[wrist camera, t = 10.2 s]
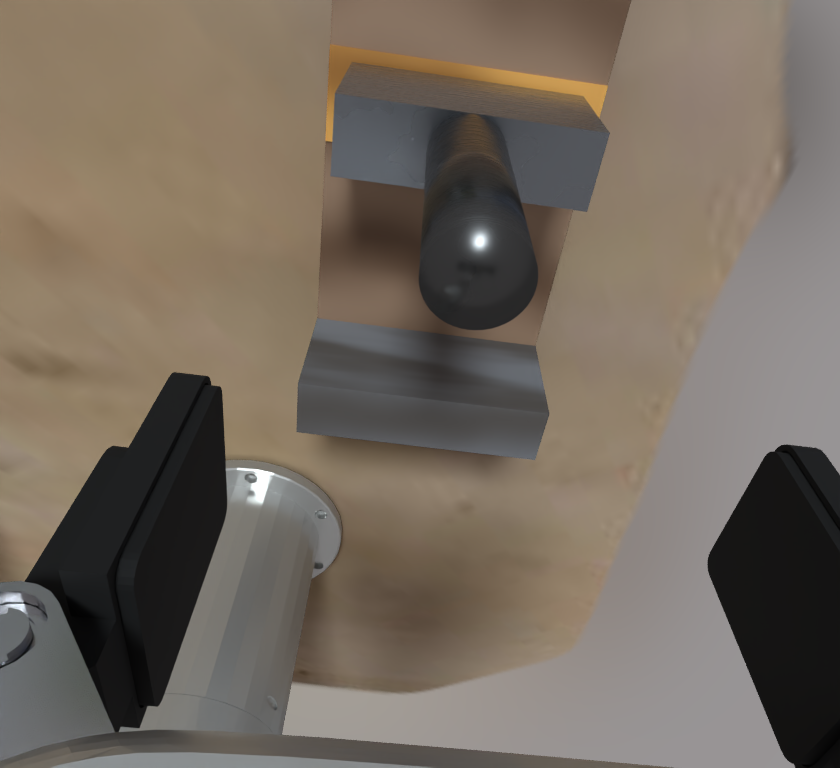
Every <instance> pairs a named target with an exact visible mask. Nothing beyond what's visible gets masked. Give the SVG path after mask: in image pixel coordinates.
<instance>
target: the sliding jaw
mask: <svg viewBox="0 0 840 768" xmlns="http://www.w3.org/2000/svg"><path fill="white" fill-rule="evenodd" d="M609 134H610V133H609V131H608V130H607V129H606V127H605V126H604V124H603V123H602V122H601V120H600V119H599V117H598V116H597V114H596V113H595V112H594V110H593V109H592V107H591V106H590V105H589V103H588V102H587V100H586V99H585V97H584V96H580V95H573V94H566V93H559V92H553V91H546V90H539V89H532V88H526V87H519V86H512V85H505V84H499V83H492V82H485V81H478V80H472V79H465V78H458V77H451V76H445V75H438V74H431V73H424V72H418V71H411V70H404V69H397V68H391V67H384V66H377V65H370V64H364V63H357V62H352V63H351V65H350V67H349V68H348V70H347V72H346V74H345V76H344V77H343V79H342V81H341V83H340V85H339V87H338V88H337V90H336V92H335V99H334V118H333V137H332V156H331V175H330V176H333V177H340V178H347V179H354V180H362V181H369V182H376V183H383V184H390V185H398V186H405V187H412V188H419V189H424V201H423V217H422V232H421V248H420V264H419V287H420V292H421V295H422V297H423V300H424V301H425V303H426V305H427V306H428V308H429V309H430V310H431V311H432V312H433V313H434V314H435V315H436V316H437V317H438V318H439V319H441V320H442V321H444V322H446V323H447V324H450V325H452V326H454V327H457V328H461V329H466V330H486V329H492V328H495V327H499V326H501V325H504V324H506V323H508V322H509V321H511V320H513V319H514V318H516V317H517V316H518V315H519V314H520V313H521V312H523V310H524V309H525V308H526V307H527V306H528V304H529V303H530V301H531V300H532V298H533V296H534V294H535V291H536V288H537V283H538V265H537V261H536V257H535V253H534V250H533V246H532V242H531V238H530V234H529V230H528V226H527V222H526V219H525V215H524V211H523V207H522V203H528V204H535V205H542V206H549V207H557V208H564V209H571V210H578V211H585V212H587V210H588V206H589V203H590V199H591V196H592V192H593V189H594V186H595V182H596V179H597V175H598V172H599V168H600V165H601V161H602V158H603V155H604V151H605V148H606V144H607V141H608V137H609Z"/></svg>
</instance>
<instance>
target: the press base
mask: <svg viewBox="0 0 840 768" xmlns="http://www.w3.org/2000/svg"><path fill="white" fill-rule="evenodd" d="M630 3H631V0H332V19H331V40H330V55H329V77H328V98H327V119H326V147H325V168H324V189H323V210H322V232H321V253H320V274H319V296H318V317H317V321H316V325H315V328H314V331H313V335H312V338H311V342H310V345H309V348H308V352H307V355H306V358H305V362H304V365H303V368H302V372H301V375H300V379H299V382H298V402H297V432H301V433H310V434H318V435H327V436H335V437H344V438H352V439H361V440H369V441H378V442H386V443H395V444H403V445H412V446H420V447H429V448H438V449H446V450H455V451H463V452H472V453H480V454H489V455H497V456H506V457H514V458H523V459H531V460H535V458H536V455H537V452H538V448H539V445H540V442H541V439H542V436H543V433H544V429H545V426H546V423H547V420H548V417H549V410H548V405H547V400H546V395H545V390H544V386H543V381H542V376H541V371H540V366H539V361H538V356H537V352H536V347H535V345H536V342H537V338H538V334H539V331H540V327H541V324H542V320H543V316H544V313H545V309H546V306H547V302H548V298H549V295H550V291H551V288H552V284H553V280H554V277H555V273H556V270H557V266H558V262H559V259H560V255H561V252H562V248H563V244H564V241H565V237H566V234H567V230H568V226H569V223H570V219H571V215H572V212H573V210H571V209H564V208H557V207H549V206H542V205H535V204H528V203H522V207H523V211H524V215H525V219H526V222H527V226H528V230H529V234H530V238H531V242H532V246H533V250H534V253H535V257H536V261H537V265H538V283H537V288H536V291H535V294H534V296H533V298H532V300H531V301H530V303H529V304H528V306H527V307H526V308H525V309H524V310H523V312H521V313H520V314H519V315H518V316H517V317H516V318H514V319H513V320H511V321H509V322H508V323H506V324H504V325H501V326H499V327H495V328H492V329H486V330H466V329H461V328H457V327H454V326H452V325H450V324H447V323H446V322H444V321H442V320H441V319H439V318H438V317H437V316H436V315H435V314H434V313H433V312H432V311H431V310H430V309H429V308H428V306H427V305H426V303H425V301H424V300H423V297H422V295H421V292H420V287H419V264H420V248H421V232H422V217H423V201H424V189H419V188H412V187H405V186H398V185H390V184H383V183H376V182H369V181H362V180H354V179H347V178H340V177H333V176H330V175H331V156H332V137H333V118H334V99H335V92H336V90H337V88H338V87H339V85H340V83H341V81H342V79H343V77H344V76H345V74H346V72H347V70H348V68H349V67H350V65H351V63H352V62H357V63H364V64H370V65H377V66H384V67H391V68H397V69H404V70H411V71H418V72H424V73H431V74H438V75H445V76H451V77H458V78H465V79H472V80H478V81H485V82H492V83H499V84H505V85H512V86H519V87H526V88H532V89H539V90H546V91H553V92H559V93H566V94H573V95H580V96H584V97H585V99H586V100H587V102H588V103H589V105H590V106H591V107H592V109H593V110H594V112H595V113H596V114H597V116H598V117H600V113H601V110H602V106H603V102H604V99H605V95H606V92H607V88H608V82H609V79H610V75H611V71H612V68H613V64H614V61H615V57H616V53H617V50H618V46H619V43H620V39H621V35H622V32H623V28H624V25H625V21H626V17H627V14H628V10H629V7H630Z"/></svg>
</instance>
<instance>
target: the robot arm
mask: <svg viewBox="0 0 840 768" xmlns="http://www.w3.org/2000/svg"><path fill="white" fill-rule="evenodd" d="M341 534H342V525H341V520H340V516H339V514H338V511H337V509H336V507H335V505H334V504H333V502H332V501H331V500H330V498H329V497H328V496H327V495H326V493H324V492H323V491H322V490H321V489H320V488H319V487H318V486H317V485H315V484H314V483H313V482H311V481H310V480H308V479H306V478H305V477H303V476H302V475H300V474H298V473H295V472H293V471H291V470H289V469H286V468H284V467H281V466H277V465H274V464H270V463H266V462H260V461H253V460H227V461H225V441H224V421H223V401H222V390H221V387H219V386H211V381H210V378H209V377H208V376H201V375H193V374H184V373H176V372H174V373H172V374H171V375H170V377H169V378H168V380H167V382H166V383H165V385H164V387H163V389H162V390H161V392H160V394H159V396H158V397H157V399H156V401H155V403H154V404H153V406H152V408H151V410H150V411H149V413H148V415H147V417H146V418H145V420H144V422H143V423H142V425H141V427H140V429H139V430H138V432H137V434H136V436H135V437H134V439H133V441H132V443H131V444H130V446H129V448H127V447H118V446H112V447H110V448H108V449H107V450H106V451H105V453H104V454H103V455H102V457H101V458H100V460H99V462H98V463H97V465H96V466H95V468H94V470H93V471H92V473H91V475H90V476H89V478H88V480H87V481H86V483H85V484H84V486H83V488H82V489H81V491H80V493H79V494H78V496H77V497H76V499H75V501H74V502H73V504H72V506H71V507H70V509H69V510H68V512H67V514H66V515H65V517H64V519H63V520H62V522H61V523H60V525H59V527H58V528H57V530H56V532H55V533H54V535H53V536H52V538H51V540H50V541H49V543H48V545H47V546H46V548H45V549H44V551H43V553H42V554H41V556H40V558H39V559H38V561H37V563H36V564H35V566H34V567H33V569H32V571H31V572H30V574H29V576H28V577H27V579H26V580H25V582H23V581H14V582H1V583H0V768H672V767H661V766H650V765H638V764H627V763H615V762H605V761H593V760H582V759H570V758H558V757H547V756H535V755H524V754H513V753H502V752H501V753H500V752H490V751H478V750H466V749H454V748H441V747H429V746H417V745H404V744H393V743H381V742H369V741H357V740H345V739H333V738H320V737H305V736H289V735H282V730H283V725H284V720H285V715H286V709H287V704H288V699H289V694H290V689H291V683H292V678H293V673H294V668H295V663H296V657H297V652H298V647H299V642H300V637H301V631H302V626H303V621H304V616H305V611H306V605H307V600H308V595H309V590H310V584H311V579H312V578H314V577H316V576H317V575H319V574H320V573H322V572H323V571H325V570H326V569H327V568H328V567H329V566H330V565H331V564H332V563H333V561H334V559H335V557H336V556H337V554H338V551H339V547H340V543H341ZM708 572H709V575H710V578H711V580H712V582H713V585H714V587H715V590H716V592H717V594H718V597H719V600H720V602H721V605H722V607H723V609H724V612H725V614H726V617H727V619H728V622H729V624H730V626H731V629H732V631H733V634H734V636H735V639H736V641H737V644H738V646H739V648H740V651H741V653H742V656H743V658H744V661H745V663H746V666H747V668H748V670H749V673H750V675H751V678H752V680H753V683H754V685H755V687H756V690H757V692H758V695H759V697H760V700H761V702H762V704H763V707H764V710H765V712H766V714H767V717H768V719H769V722H770V724H771V727H772V729H773V731H774V734H775V736H776V739H777V741H778V744H779V746H780V749H781V751H782V752H783V755H784V756H785V758H786V759H787V760H788V761H789V762H791V763H793V764H794V765H795V768H840V475H839V473H838V472H837V471H836V469H835V468H834V466H833V465H832V463H831V462H830V461H829V459H828V458H827V457H826V455H825V454H824V453H823V452H822V451H821V450H819V449H817V448H810V447H802V446H794V445H781V446H780V447H778V448H777V449H776V450H775V452H769V453H768V454H767V455H766V456H765V457H764V459H763V461H762V463H761V464H760V466H759V468H758V470H757V471H756V473H755V475H754V476H753V478H752V480H751V482H750V484H749V485H748V487H747V489H746V491H745V492H744V494H743V496H742V497H741V499H740V501H739V503H738V504H737V506H736V508H735V510H734V511H733V513H732V515H731V517H730V519H729V520H728V522H727V524H726V525H725V527H724V529H723V531H722V532H721V534H720V536H719V538H718V539H717V541H716V543H715V545H714V546H713V548H712V550H711V552H710V554H709V557H708Z"/></svg>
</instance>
